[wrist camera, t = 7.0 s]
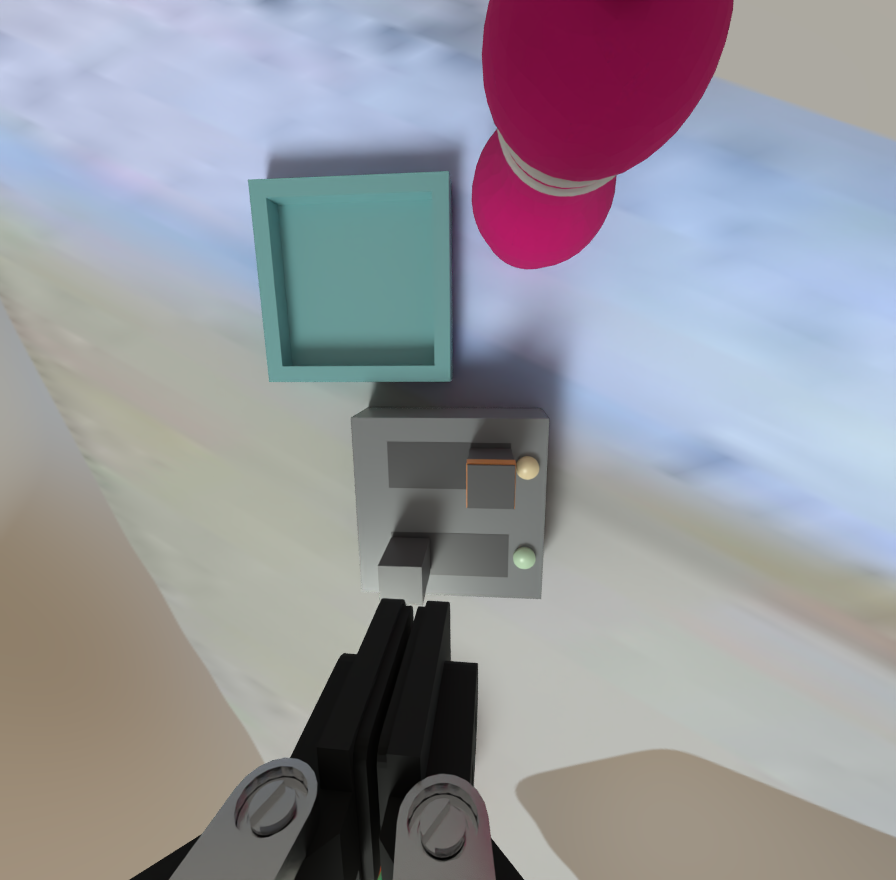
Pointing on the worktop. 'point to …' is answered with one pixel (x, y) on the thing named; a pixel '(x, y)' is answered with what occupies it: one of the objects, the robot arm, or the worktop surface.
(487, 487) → the tagged breaker
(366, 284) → the tray
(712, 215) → the worktop surface
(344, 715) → the robot arm
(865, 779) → the worktop surface
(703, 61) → the pepper mill
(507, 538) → the breaker panel
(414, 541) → the block
